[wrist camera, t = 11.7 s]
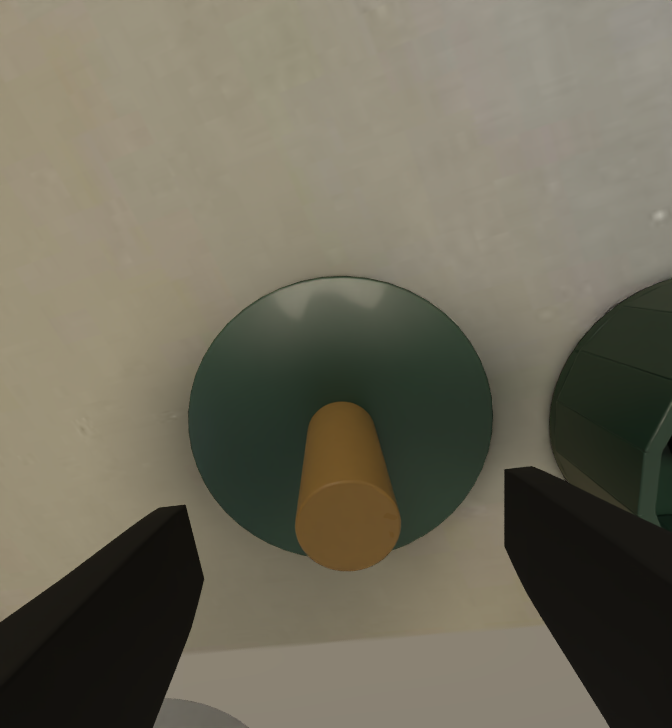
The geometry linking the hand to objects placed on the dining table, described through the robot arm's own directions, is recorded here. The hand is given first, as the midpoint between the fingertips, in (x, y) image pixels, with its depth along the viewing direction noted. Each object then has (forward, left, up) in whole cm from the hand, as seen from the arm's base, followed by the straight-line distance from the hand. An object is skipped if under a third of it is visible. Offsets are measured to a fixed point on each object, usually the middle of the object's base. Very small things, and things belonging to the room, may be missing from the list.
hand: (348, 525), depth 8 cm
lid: (0, 0, -5) cm, 5 cm away
